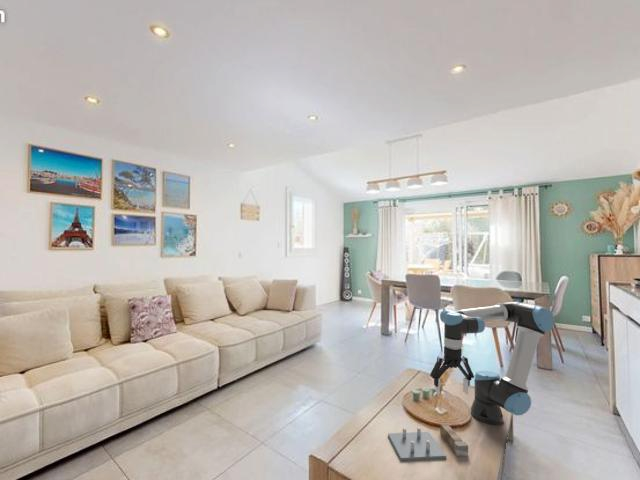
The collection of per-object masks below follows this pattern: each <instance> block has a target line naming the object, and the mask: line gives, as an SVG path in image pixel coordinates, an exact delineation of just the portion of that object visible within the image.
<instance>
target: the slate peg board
mask: <svg viewBox="0 0 640 480" xmlns="http://www.w3.org/2000/svg"><path fill="white" fill-rule="evenodd" d="M387 437H388V439H389V441H390V442H391V445H392V447H393V448H394V450H395V452H396V454H397V456H398V458H399V461H401V462H403V461H404V462H406V461H407V462H409V461H423V460H441V459H442V460H443V459H444V460H446V459H447V454H446V453H445V452H444V451H443V449H442V448H441V447H440V445H439V443H438V442H437V441H436V440H435V438H434V437H433V435H432V434H431V433H430V432H429V431H422V429H421V427H420V426H419V427H417V428H416V431H415V432H414V431H413V432H412V431H411V432H407V428H406V427H402V432H392V433H391V432H390V433H387Z"/></svg>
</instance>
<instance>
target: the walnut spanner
mask: <svg viewBox="0 0 640 480" xmlns="http://www.w3.org/2000/svg"><path fill="white" fill-rule="evenodd" d="M439 428H440V432H439V433H440V434H441V437H443V438H444V440H445V441H446V442H447V444H448V445H449V446H450V447H451V448H452V450H453V453H454V454H455V456H456V457H468V456H469V445H468V443H467V442H466V441H463V439H462V438H461V437H460V435H458V434H457V432H455V431H454V429H453V428H452V427H451V426H450V425H449V423H440V427H439Z"/></svg>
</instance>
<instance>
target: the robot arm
mask: <svg viewBox="0 0 640 480" xmlns="http://www.w3.org/2000/svg"><path fill="white" fill-rule="evenodd" d="M439 315H440V316H439V319H440V321H441V322H442V323H443V324H444V331H443V332H444V339H443V341H444V342H443V345H444V346H443V357H441V356H437V358H436V362H435V363H434V366H433V368H432V370H431V372H430V374H429V376H430V377H431V378H432V379H433V385H434V386H435V393H436V394H437V395H438V396H439V395H441V380H440V378H441V377H442V376H443V375H444V373H445V372H446V371H447V370H448V369H452V368H454V369H457V368H458V369H459V371H460V372H461V373H462V375H463V379H462V380H463V381H462V383H463V385H462V392H464V394H466V395H468V394H469V387H470V385H471V384H470V383H471V381H472V379H474V380H473V381H474V399H473V402H472V405H471V406H470V414H471V413H472V414H471V415H472V417H474V418H475V419H476V420H478V421H480V422H481V423H485V424H488V425H489V424H490V425H500V424H502V423H503V422H504V415H503V412H502V409H504V410H505V411H506V412H508V413H510V414H511V415H513V416H523V415H524V414H526V413H527V412H528V411H529V409H530V408H531V407H532V406H531V405H532V399H531V396H530V395H529V394H528V392H529V389H528V386H527V381H528V378H529V375H530V371H531V369H532V365H533V361H534V359H535V358H534V357H535V354H536V351H537V347H538V344H539V341H540V338H542V337H544V336H545V334H546V333H547V332H548V333H549V332H550V331H552V330H553V329H554V326H555V317H554V315H553V313H552V311H551V310H550V309H549V308H547V307H544V306H541V305H538V304H532V303H527V302H523V301H507V302H498V303H495V304H494V305H491V306H482V307H474V308H466V309H465V308H464V309H456V310H451V309H443V310H442V311H441V312H440V314H439ZM492 321H500V322H510V323H514V324H517V325H516V328H517V329H518V334H517V337H516V340H515V343H514V347H513V350H512V353H511V356H510V357H511V358H510V360H509V363H508V366H507V369H506V373H505V375H504V376H500V374H499V373H497V372H494V371H488V370H479V371H477V372H476V371H475V374H474V373H473V371H472V369H471V366H470V364H469V358H468V357H466V356H463V355H462V352H463V351H462V350H463V348H462V347H463V334H465V335H466V334H479V333H483V332H484V331H485V329H486V323H487V322H492ZM485 322H486V323H485ZM461 363H463V365H464V367H463V366H462V364H461ZM501 408H502V409H501Z"/></svg>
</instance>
